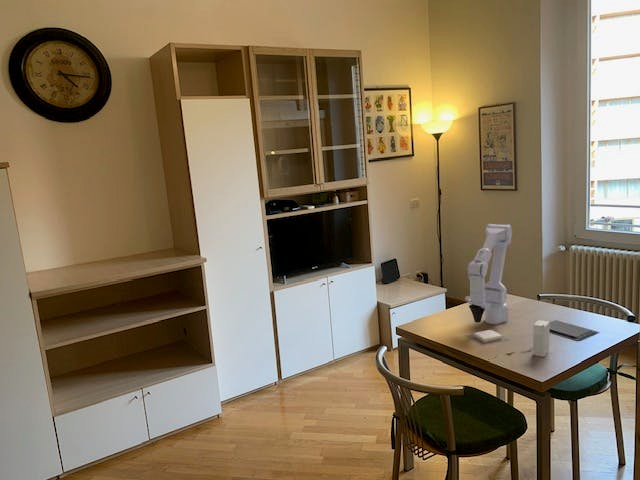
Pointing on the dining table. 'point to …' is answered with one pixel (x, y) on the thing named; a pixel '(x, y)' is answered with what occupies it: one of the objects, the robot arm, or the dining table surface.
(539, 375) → the dining table surface
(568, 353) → the dining table surface
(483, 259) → the robot arm
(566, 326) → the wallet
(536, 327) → the skincare box
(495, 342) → the mat
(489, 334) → the tile
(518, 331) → the dining table surface
